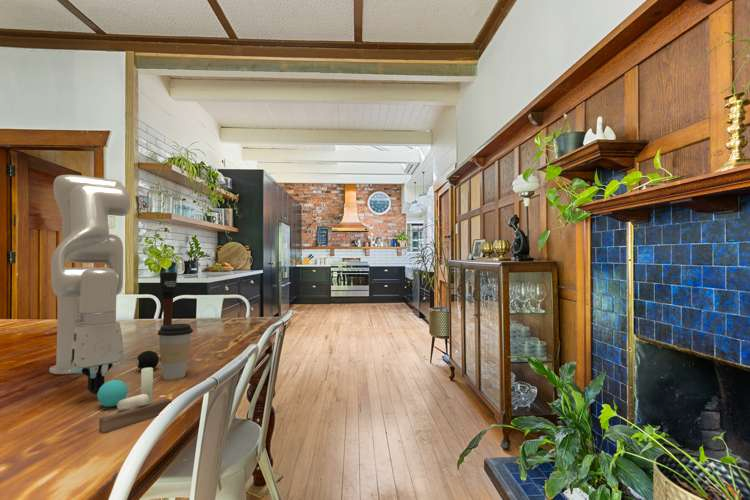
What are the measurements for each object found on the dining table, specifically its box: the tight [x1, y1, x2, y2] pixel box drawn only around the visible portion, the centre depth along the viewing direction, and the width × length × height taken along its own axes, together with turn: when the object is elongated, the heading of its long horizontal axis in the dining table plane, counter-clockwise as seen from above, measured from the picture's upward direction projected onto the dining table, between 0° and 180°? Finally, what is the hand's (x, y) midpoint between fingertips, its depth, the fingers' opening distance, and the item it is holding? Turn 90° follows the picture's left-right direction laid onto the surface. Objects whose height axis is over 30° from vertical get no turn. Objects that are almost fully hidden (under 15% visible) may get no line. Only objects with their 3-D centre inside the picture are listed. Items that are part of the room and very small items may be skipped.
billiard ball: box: [136, 350, 160, 371], centre depth 123 cm, size 6×6×6 cm
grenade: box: [158, 271, 178, 326], centre depth 135 cm, size 6×6×30 cm
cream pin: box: [116, 393, 149, 411], centre depth 89 cm, size 2×2×9 cm
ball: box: [96, 379, 129, 408], centre depth 93 cm, size 6×6×6 cm
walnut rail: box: [98, 397, 173, 434], centre depth 86 cm, size 2×14×2 cm, turn 148°
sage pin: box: [140, 367, 154, 404], centre depth 93 cm, size 2×2×9 cm
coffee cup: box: [157, 323, 194, 381], centre depth 117 cm, size 9×9×15 cm
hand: (95, 392), depth 98 cm, fingers closed
